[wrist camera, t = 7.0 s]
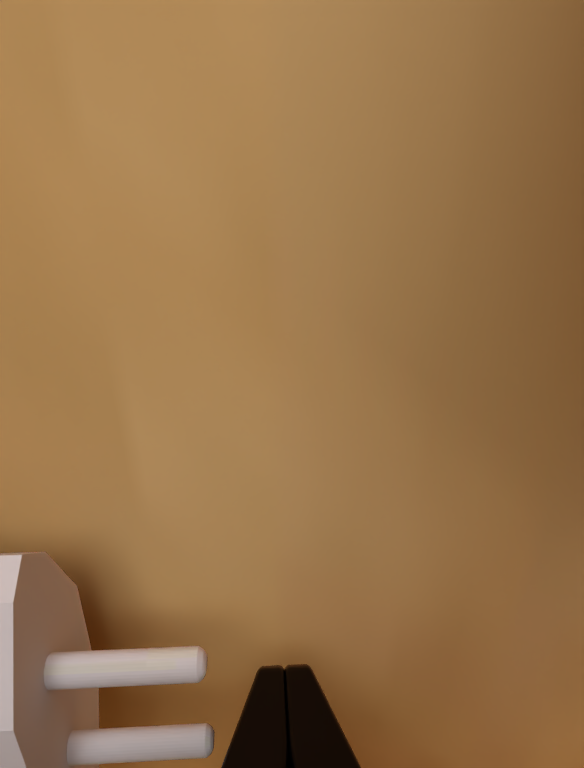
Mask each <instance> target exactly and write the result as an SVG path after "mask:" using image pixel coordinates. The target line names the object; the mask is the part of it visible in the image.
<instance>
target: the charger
mask: <svg viewBox="0 0 584 768" xmlns="http://www.w3.org/2000/svg"><path fill="white" fill-rule="evenodd" d="M206 672H207V654H206V652H205V650H204V649H203V648H201V647H200V646H181V647H159V648H137V649H114V650H92V649H91V645H90V641H89V636H88V632H87V627H86V623H85V618H84V614H83V610H82V605H81V601H80V596H79V592H78V588H77V585H76V584H75V583H74V582H73V581H72V580H71V579H70V578H69V577H68V576H67V574H66V573H65V572H64V571H63V570H62V569H61V568H60V567H59V566H58V565H57V564H56V563H55V561H54V560H53V559H52V558H51V557H50V556H49V555H48V554H47V553H46V552H23V553H0V768H99V764H108V763H126V762H144V761H162V760H180V759H197V758H207V757H208V756H209V755H210V754H211V753H212V751H213V748H214V730H213V728H212V726H211V725H209V724H208V723H196V724H177V725H158V726H139V727H120V728H101V729H99V688H102V687H123V686H144V685H164V684H185V683H199V682H200V681H201V680H202V679H203V678H204V677H205V674H206Z"/></svg>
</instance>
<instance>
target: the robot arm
mask: <svg viewBox="0 0 584 768" xmlns="http://www.w3.org/2000/svg"><path fill="white" fill-rule="evenodd" d="M221 768H361V767H360V765H359V763H358V761H357V759H356V757H355V755H354V753H353V751H352V749H351V747H350V745H349V743H348V741H347V739H346V737H345V735H344V733H343V731H342V729H341V727H340V725H339V723H338V721H337V719H336V717H335V715H334V713H333V711H332V709H331V707H330V705H329V703H328V701H327V699H326V697H325V695H324V693H323V691H322V689H321V687H320V685H319V683H318V681H317V679H316V677H315V675H314V673H313V671H312V669H311V668H310V666H308V665H307V664H300V665H287V666H286V667H285V670H284V668H283V667H282V666H280V665H277V666H262V667H260V668H259V669H258V671H257V673H256V676H255V679H254V681H253V684H252V687H251V689H250V692H249V695H248V698H247V700H246V703H245V706H244V708H243V711H242V714H241V716H240V719H239V722H238V724H237V727H236V730H235V732H234V735H233V738H232V740H231V743H230V746H229V748H228V751H227V754H226V756H225V759H224V762H223V764H222V767H221Z"/></svg>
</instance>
